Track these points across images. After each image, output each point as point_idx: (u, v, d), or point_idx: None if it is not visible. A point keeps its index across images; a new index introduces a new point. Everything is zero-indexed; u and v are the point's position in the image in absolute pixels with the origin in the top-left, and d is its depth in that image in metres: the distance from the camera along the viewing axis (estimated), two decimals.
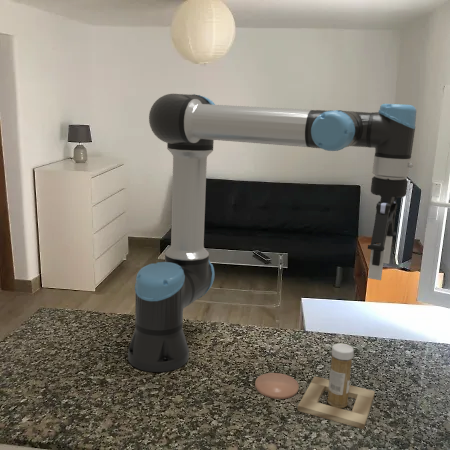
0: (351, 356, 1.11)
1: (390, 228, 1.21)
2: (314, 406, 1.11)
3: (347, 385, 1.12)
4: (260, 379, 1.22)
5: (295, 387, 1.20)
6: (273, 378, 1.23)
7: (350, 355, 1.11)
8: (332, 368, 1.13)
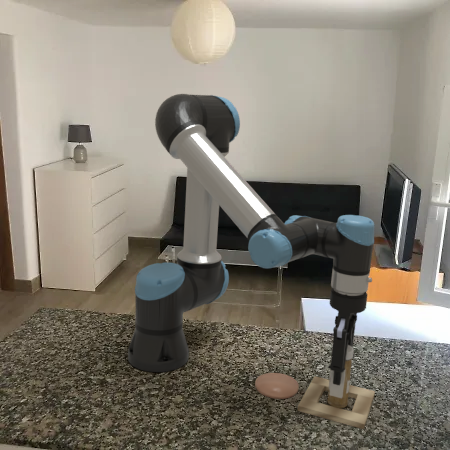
0: (351, 356, 1.11)
1: None
2: (314, 406, 1.11)
3: (347, 385, 1.12)
4: (260, 379, 1.22)
5: (295, 387, 1.20)
6: (273, 378, 1.23)
7: (350, 355, 1.11)
8: None
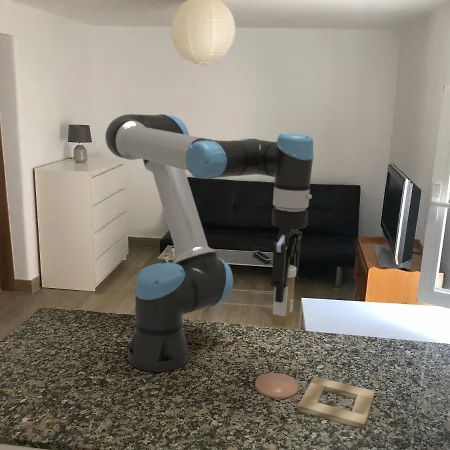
0: (293, 274, 1.13)
1: None
2: (314, 406, 1.11)
3: (290, 304, 1.14)
4: (260, 379, 1.22)
5: (295, 387, 1.20)
6: (273, 378, 1.23)
7: (292, 273, 1.12)
8: None
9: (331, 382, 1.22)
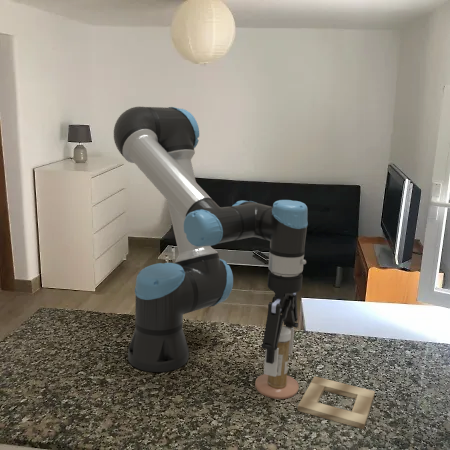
0: (288, 338, 1.16)
1: (291, 320, 1.21)
2: (314, 406, 1.11)
3: (285, 366, 1.18)
4: (260, 379, 1.22)
5: (295, 387, 1.20)
6: None
7: (286, 337, 1.16)
8: None
9: (331, 382, 1.22)
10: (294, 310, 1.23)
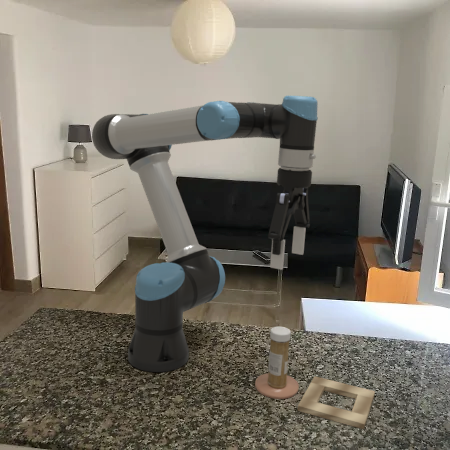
0: (288, 338, 1.16)
1: (302, 219, 1.22)
2: (314, 406, 1.11)
3: (285, 366, 1.18)
4: (260, 379, 1.22)
5: (295, 387, 1.20)
6: None
7: (286, 337, 1.16)
8: (270, 350, 1.18)
9: (331, 382, 1.22)
10: (305, 211, 1.24)
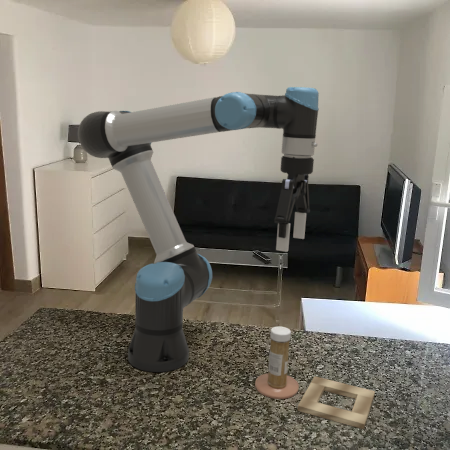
0: (288, 338, 1.16)
1: (303, 205, 1.29)
2: (314, 406, 1.11)
3: (285, 366, 1.18)
4: (260, 379, 1.22)
5: (295, 387, 1.20)
6: None
7: (286, 337, 1.16)
8: (271, 350, 1.18)
9: (331, 382, 1.22)
10: (306, 197, 1.31)
